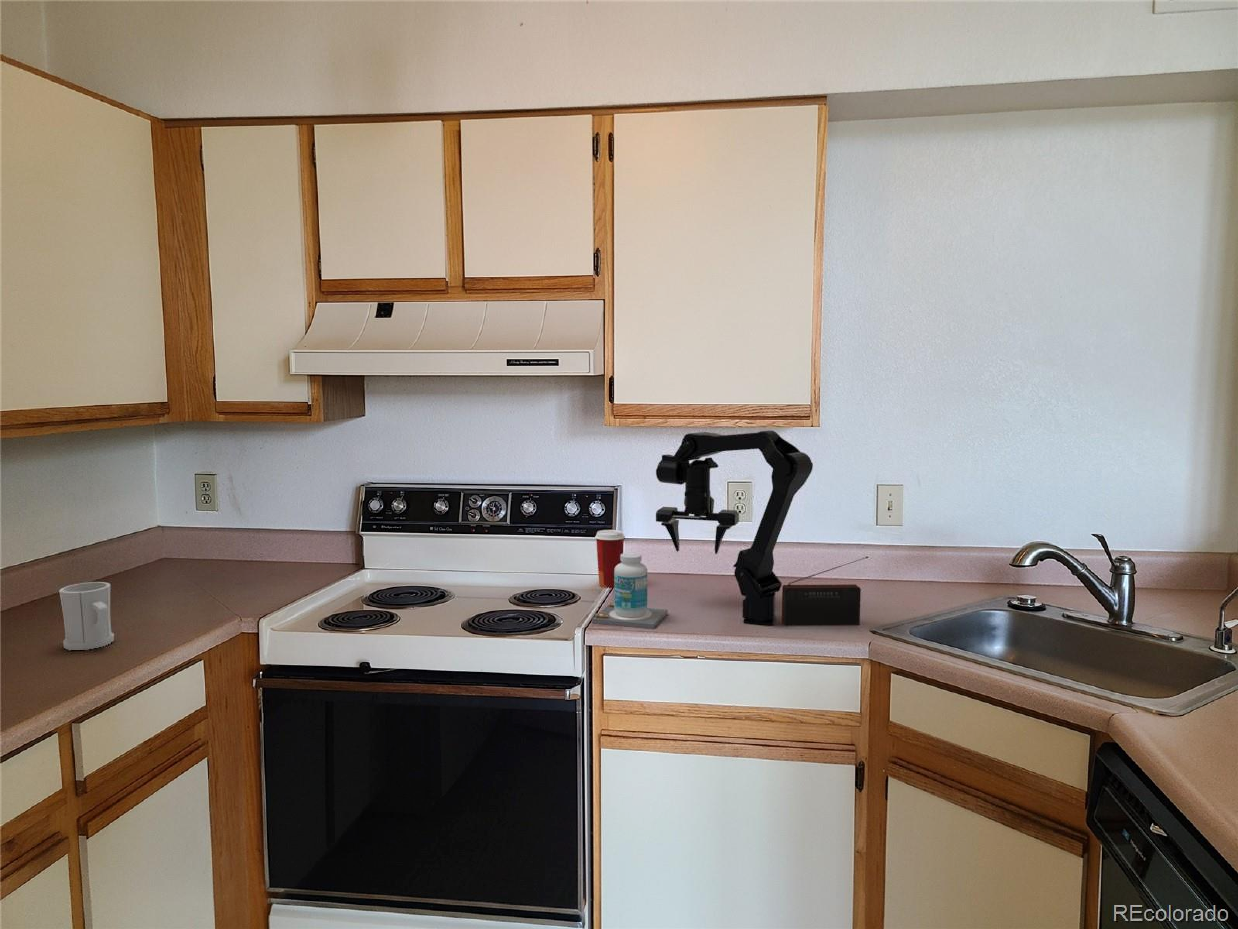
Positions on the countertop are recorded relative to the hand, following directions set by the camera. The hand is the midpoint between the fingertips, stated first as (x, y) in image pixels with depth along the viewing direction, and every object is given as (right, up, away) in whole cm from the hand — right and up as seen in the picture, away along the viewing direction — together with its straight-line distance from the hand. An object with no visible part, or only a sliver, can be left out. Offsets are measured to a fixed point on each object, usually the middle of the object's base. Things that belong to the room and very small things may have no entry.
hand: (696, 552), depth 201 cm
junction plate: (-16, -14, -8) cm, 23 cm away
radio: (+27, -15, -12) cm, 33 cm away
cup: (-126, -16, -26) cm, 129 cm away
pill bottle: (-16, -13, -8) cm, 22 cm away
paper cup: (-21, -11, +22) cm, 32 cm away
